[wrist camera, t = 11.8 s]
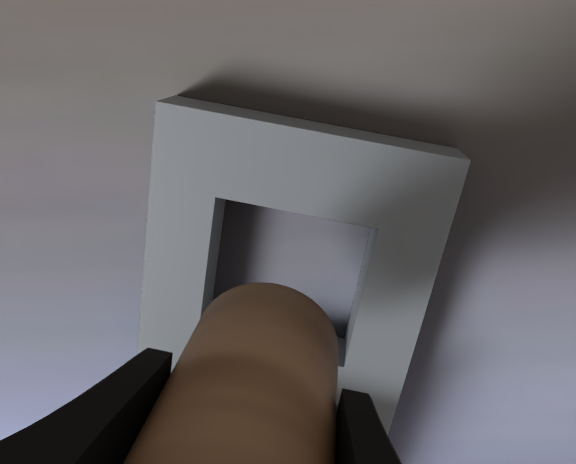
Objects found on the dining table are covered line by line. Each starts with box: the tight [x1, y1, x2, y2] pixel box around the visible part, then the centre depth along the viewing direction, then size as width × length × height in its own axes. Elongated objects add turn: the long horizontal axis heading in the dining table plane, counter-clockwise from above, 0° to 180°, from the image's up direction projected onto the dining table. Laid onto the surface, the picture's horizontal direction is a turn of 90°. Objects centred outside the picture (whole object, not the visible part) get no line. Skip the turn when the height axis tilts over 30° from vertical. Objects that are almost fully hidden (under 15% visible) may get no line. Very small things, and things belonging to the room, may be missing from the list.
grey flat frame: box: [137, 95, 471, 435], centre depth 20 cm, size 18×10×2 cm, turn 170°
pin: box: [123, 283, 338, 464], centre depth 11 cm, size 4×4×7 cm
